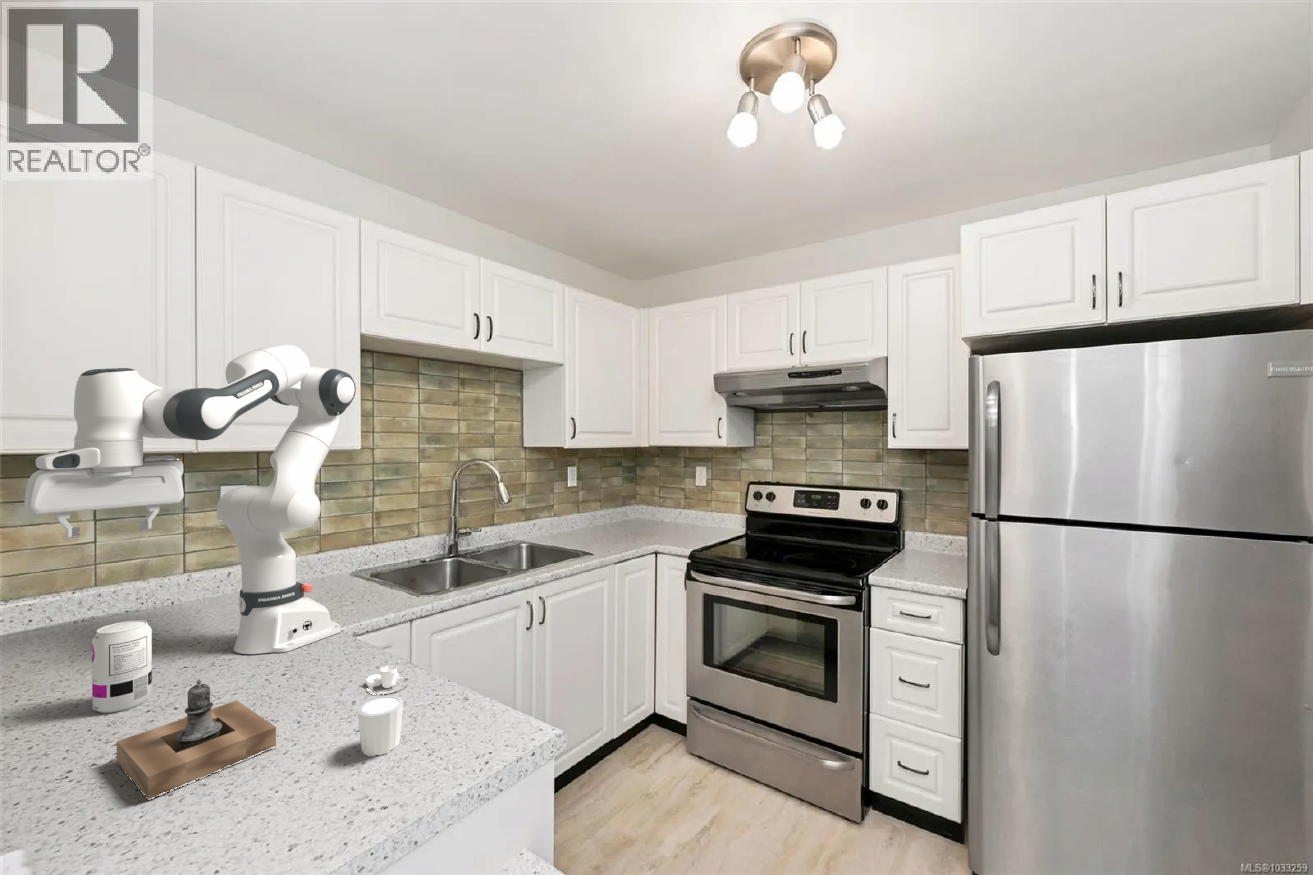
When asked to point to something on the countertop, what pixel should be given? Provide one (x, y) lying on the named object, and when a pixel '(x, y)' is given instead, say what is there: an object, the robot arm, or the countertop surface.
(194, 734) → the grey tall rounded piece
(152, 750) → the holder
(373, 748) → the white cylinder
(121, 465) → the robot arm
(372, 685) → the teacup and saucer
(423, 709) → the countertop surface
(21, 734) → the countertop surface
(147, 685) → the supplement can
